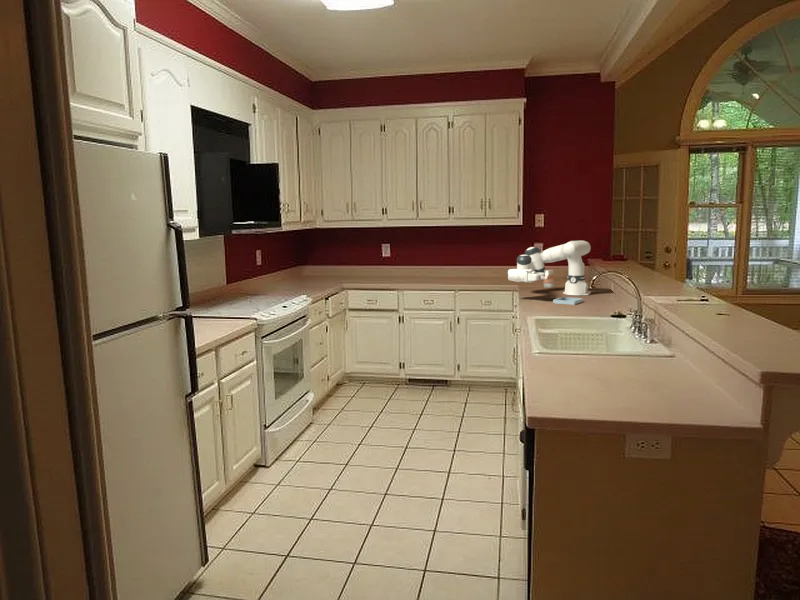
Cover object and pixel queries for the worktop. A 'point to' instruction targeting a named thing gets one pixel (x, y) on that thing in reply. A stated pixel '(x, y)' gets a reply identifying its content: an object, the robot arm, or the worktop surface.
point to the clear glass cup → (549, 281)
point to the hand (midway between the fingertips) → (549, 277)
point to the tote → (568, 300)
